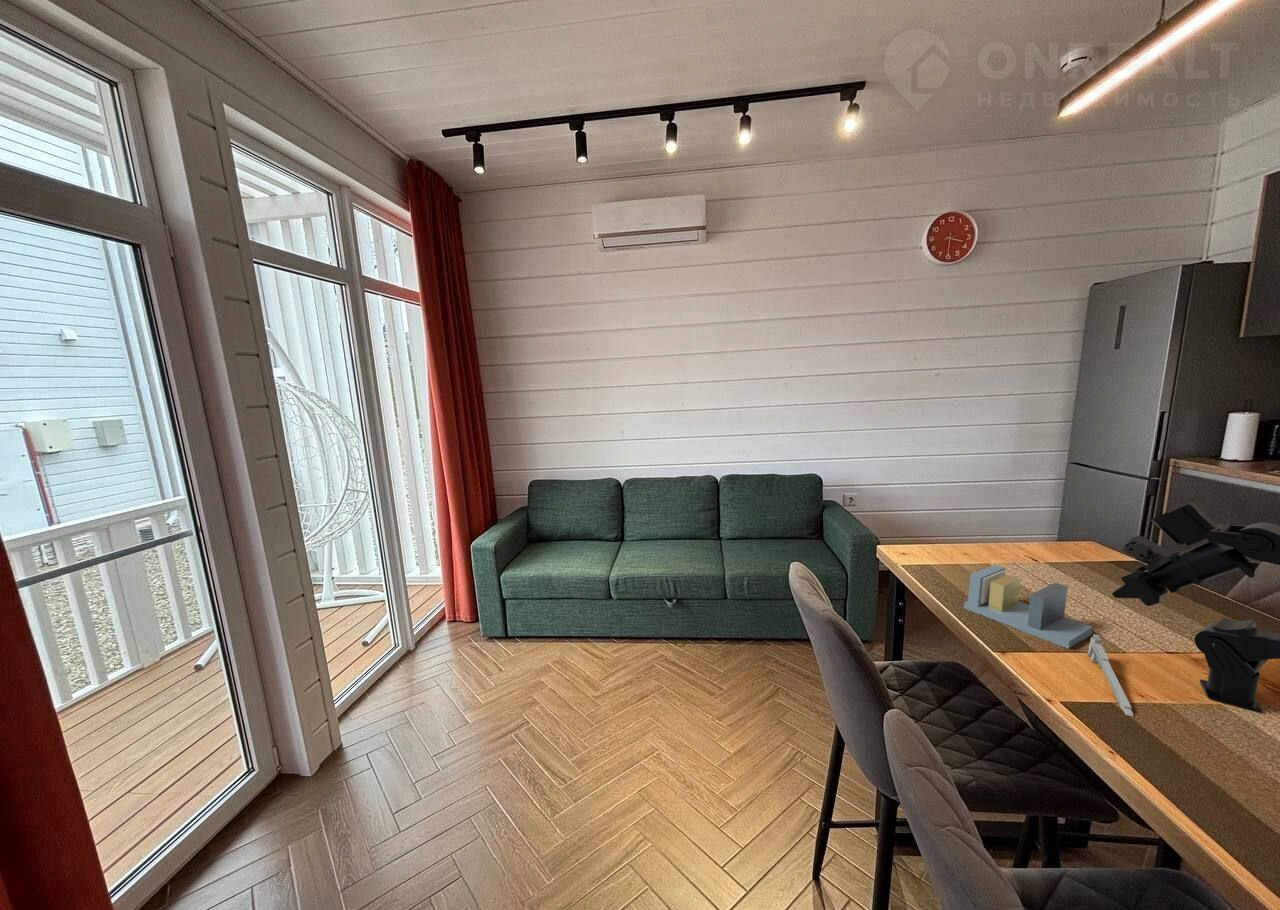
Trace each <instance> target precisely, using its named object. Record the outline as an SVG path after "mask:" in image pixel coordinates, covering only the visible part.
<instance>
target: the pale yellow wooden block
mask: <svg viewBox="0 0 1280 910" xmlns="http://www.w3.org/2000/svg"><path fill="white" fill-rule="evenodd" d="M1020 586H1021V578H1018V577H1015V576H1011V575H1009V574H1005V575H1004V576H1003V577H1001V578H998V579H996V580H994V581H991V584H990V594H989V604H988V607H989V608H992V609H995V610H997V611H1000V612H1002V611H1004V610H1007V609H1009V608H1011V607H1013V606H1015V605H1017V604H1018V601H1019V594H1020Z"/></svg>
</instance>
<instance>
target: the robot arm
mask: <svg viewBox="0 0 1280 910" xmlns="http://www.w3.org/2000/svg"><path fill="white" fill-rule="evenodd" d="M1150 521H1151V522H1152V523H1153V524H1154V525H1155V526H1156V527H1157V528H1159V529H1160V531H1162V532H1163V533H1164V534H1165V535H1166V536H1167V537H1168V538H1169V539H1170V540H1171V542H1174V544H1179V545H1181V546H1182V545H1186V547H1189V546H1192V545H1194V544H1196V543H1199V542H1201V541H1204V540H1206V539H1207V541H1208V542H1204V543H1203V544H1200V545H1196V546H1195V547H1191V548H1189V549H1187V550H1184V551H1180V550H1177V551H1175V552H1171V551H1169V550H1167V549H1165V548H1164V547H1162V546H1161V545H1159V544H1158V543H1156V542H1154V541H1152V540H1150V539H1148V538H1146V537H1145V536H1142V535H1135V536H1134V537H1132V538H1131V539H1130V540H1128V542H1127V543H1125V544H1124V546H1123V547H1122V548H1121V551H1122V552H1123V553H1125V554H1127V555H1130V556H1132V557H1134V558H1135V559H1137V560H1139V561H1140V562H1142V563H1144V564H1145V565H1141V566H1140V567H1138V568H1136V570H1135V569H1134V570H1132V571H1131V572H1129V573H1126V574H1125V575H1122V576H1121V577H1120V578H1121V581H1122V582H1123V583H1124V585H1121V587H1119V588H1117V589H1116V590H1114V591H1113V592H1112V593H1111V595H1112V596H1113V597H1114V598H1116V599H1138V600H1140V601H1141V602H1142V603H1143V605H1145V606H1147V607H1151V606H1153V605H1156V604H1159V603H1162V602H1163V601H1165V599H1166V596H1167V594H1168V592H1170V593H1171V594H1173V593H1176V592H1178V591H1180V590H1181V589H1185V588H1187V587H1190V586H1192V585H1199V584H1202V583H1204V582H1205V581H1208V580H1210V579H1213V578H1215V577H1216V578H1217V577H1218V576H1222V575H1225V574H1229V573H1231V572H1234V571H1237V570H1240V571H1241V572H1242V573H1243V574H1244V575H1246V576H1247V577H1248V578H1249V579H1250V578H1251V579H1252V578H1253V579H1254V578H1255V577H1256V576H1258V574H1260V566H1261V565H1262V564H1263V563H1262V562H1265V563H1269V564H1273V565H1275V566H1276V565H1277V566H1280V525H1278V524H1276V523H1270V522H1265V521H1264V522H1257V523H1252V524H1249V525H1240V524H1239V525H1238V524H1237V525H1236V524H1226V523H1221V524H1218V525H1217V524H1216V522H1214V521H1213V520H1211V519H1210V518H1209V517H1208V515H1206V514H1205V513H1204V512H1203V511H1202V510H1201V509H1200V508H1199V506H1198V505H1196V504H1195V503H1194V502H1190V503H1187V504H1185V505H1183V506H1181V507H1179V508H1173V509H1172V510H1169V511H1167V512H1164V513H1162V514H1160V515H1157V516H1156V517H1153V518H1151V519H1150ZM1194 645H1195V646H1196V648H1197V649H1198V650H1199V651H1200V652H1201V653H1202V654H1203V655H1204V657H1205V660H1206V663H1207V666H1208V668H1209V672H1208V675H1207V676H1208V677H1207V680H1205V679H1199V684H1200V686H1201V687H1202V690H1203V691H1204V693H1205V696H1206V698H1208V699H1210V700H1213V701H1216V702H1221V703H1225V704H1228V705H1232V706H1236V707H1239V708H1244V709H1247V710H1251V711H1254V712H1259V713H1262V712H1263V708H1262V707H1261V705H1260V704H1259V702H1258V701H1257V698H1256V695H1257V690H1258V684H1259V680H1260V676H1261V675H1260V672H1259V670H1260V669H1261V668H1262V667H1263V666H1264V665H1265V664H1266V663H1267V661H1269V660H1278V659H1279V660H1280V633H1279V632H1272V631H1268V630H1265V629H1261V628H1257V623H1256V620H1252V619H1246V620H1244V619H1243V620H1234V619H1229V618H1226V617H1222V619H1220V620H1219V621H1212V622H1211V623H1209V624H1208V625H1206V626H1205V627H1203V629H1201V630H1200V631H1199V632H1198V633H1197V634H1195V637H1194Z"/></svg>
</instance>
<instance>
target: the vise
mask: <svg viewBox="0 0 1280 910" xmlns="http://www.w3.org/2000/svg"><path fill="white" fill-rule="evenodd" d="M1005 575H1006V567H1004V566H1000V565H997V564H993V565H991V566H988V567H984V569H980V570H978V571H975V572H973V573H970V574H969V581H968V582H969V584H968V596H967V600H966V601H965V600H964V603H963V609H964V608H965V609H964V610H966V609H967V610H966V611H969V610H970V611H969V612H971V611H972V613H974V612H975V613H974V614H976V613H977V614H976V615H979V614H981V615H983V616H982V617H984V616H985V617H984V618H987V617H988V618H987V619H989V618H990V619H989V620H992V619H993V620H992V621H994V620H996V621H995V622H997V621H998V622H997V623H999V622H1001V623H1000V624H1002V623H1004V624H1003V625H1005V624H1006V625H1005V626H1007V625H1009V626H1008V627H1010V626H1012V627H1014V628H1013V629H1015V628H1016V629H1015V630H1017V629H1018V631H1020V630H1021V631H1020V632H1023V633H1025V632H1026V634H1028V635H1030V634H1031V635H1030V636H1033V637H1035V636H1036V638H1038V637H1039V638H1038V639H1041V638H1042V639H1041V640H1043V639H1045V640H1044V641H1046V640H1047V641H1046V642H1048V641H1050V642H1049V643H1051V642H1052V643H1051V644H1053V643H1054V644H1053V645H1056V644H1057V645H1056V646H1059V645H1060V646H1059V647H1061V646H1063V647H1062V648H1064V647H1065V648H1064V649H1066V648H1067V650H1070V649H1071V648H1072V646H1073V647H1074V646H1076V645H1077V644H1079V643H1080V642H1082V641H1083V640H1085V639H1087V638H1088V637H1090V636H1091V635H1092V634H1093V626H1092V625H1089V624H1086V623H1083V622H1080V621H1077V620H1075V619H1072V618H1069V617H1066V616H1063V617H1061V618H1060V619H1058V620H1056V621H1054V622H1053V623H1051V624H1049V625H1047V626H1045V627H1044V628H1042V629H1038V628H1035V627H1033V626H1030V625H1028V616H1029V607H1030V604H1028V603H1026V602H1023V601H1019V600H1018V604H1017V605H1015V606H1013V607H1011V608H1009V609H1007V610H1004V611H1002V612H1000V611H997V610H995V609H992V608H989V607H988V604H989V594H990V584H991V581H994V580H996V579H998V578H1001V577H1003V576H1005ZM981 615H980V616H981ZM1012 627H1011V628H1012ZM1075 644H1076V645H1075ZM1070 647H1071V648H1070Z"/></svg>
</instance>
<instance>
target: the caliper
mask: <svg viewBox="0 0 1280 910" xmlns="http://www.w3.org/2000/svg"><path fill="white" fill-rule="evenodd" d="M1092 634H1093V633H1092ZM1089 640H1090V642H1089V647H1088V653H1087V657H1088V658H1089V657H1091V658H1090V662H1091V661H1092V662H1091V663H1094V662H1096V663H1095V664H1097V665H1098V667H1099V669H1102V671H1103V674H1104V676H1105V677H1106V680H1107V681H1108V684H1109V685H1110V688H1111V690H1112V692H1113V695H1114V697H1115V699H1116V700H1117V703H1118V705H1119V706H1120V708H1121V710H1122V711H1123V712H1124V714H1125V716H1128V717H1129V716H1130V717H1134V713H1133V710H1132V706H1131V703H1130V701H1129V700H1128V698H1127V696H1126V694H1125V692H1124V689H1123V688H1122V686H1121V684H1120V682H1119V680H1118V678H1117V676H1116V673H1115V671H1114V670H1113V668H1112V666H1111V664H1110V662H1109V657H1108V655H1107V653H1106V651H1105V649H1104V647H1103V645H1102V644H1101V643H1102V639H1101V635H1100V634H1099V635H1098V634H1093V635H1092V636H1091V637H1090V639H1089Z"/></svg>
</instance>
